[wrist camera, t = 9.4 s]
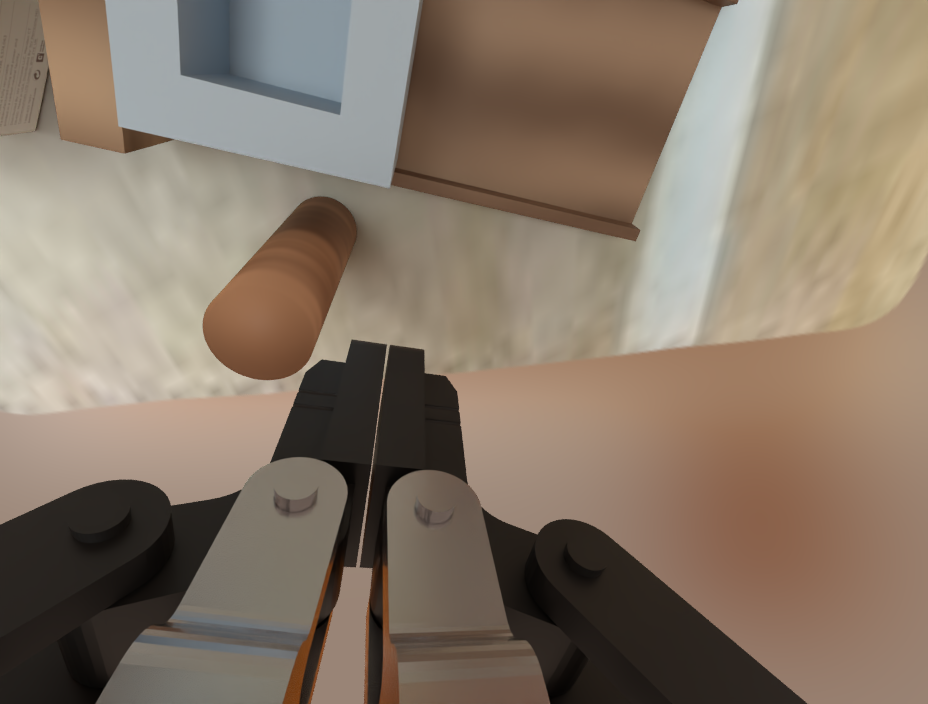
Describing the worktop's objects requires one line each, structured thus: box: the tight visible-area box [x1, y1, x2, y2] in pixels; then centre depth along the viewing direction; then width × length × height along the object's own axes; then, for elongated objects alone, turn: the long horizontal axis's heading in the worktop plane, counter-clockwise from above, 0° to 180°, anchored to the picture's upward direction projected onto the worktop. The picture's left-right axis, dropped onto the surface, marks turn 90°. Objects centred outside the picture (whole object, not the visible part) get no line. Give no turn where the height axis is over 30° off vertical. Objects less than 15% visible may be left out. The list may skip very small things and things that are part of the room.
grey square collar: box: [105, 0, 423, 188], centre depth 17 cm, size 9×9×6 cm
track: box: [38, 0, 738, 241], centre depth 19 cm, size 11×24×7 cm, turn 76°
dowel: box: [203, 197, 357, 380], centre depth 20 cm, size 3×3×12 cm
